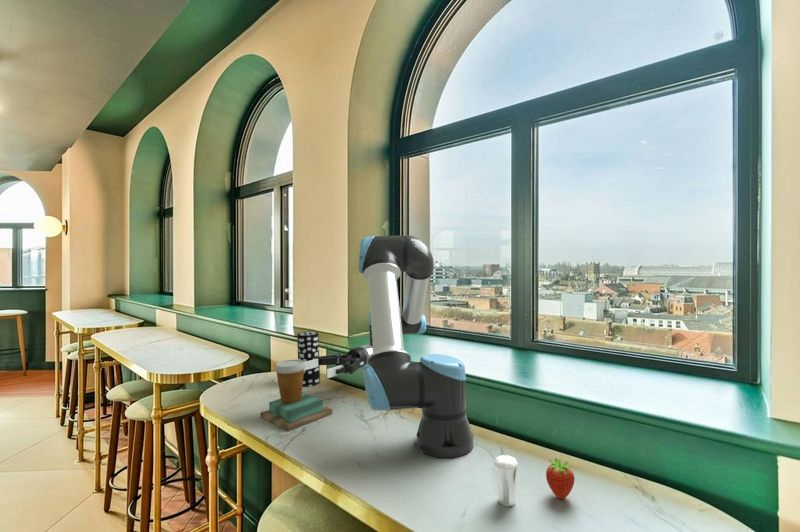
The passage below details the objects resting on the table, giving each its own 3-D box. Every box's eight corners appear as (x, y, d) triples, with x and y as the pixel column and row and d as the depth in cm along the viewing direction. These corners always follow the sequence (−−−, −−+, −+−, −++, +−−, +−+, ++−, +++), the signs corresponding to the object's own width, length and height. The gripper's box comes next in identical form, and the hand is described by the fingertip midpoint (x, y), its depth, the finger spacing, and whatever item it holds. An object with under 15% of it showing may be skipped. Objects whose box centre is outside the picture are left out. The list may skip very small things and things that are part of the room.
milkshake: (513, 492, 86) (512, 445, 85) (521, 508, 80) (520, 458, 80) (491, 493, 85) (490, 446, 85) (498, 509, 80) (497, 459, 80)
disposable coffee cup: (311, 399, 130) (310, 362, 130) (283, 407, 124) (282, 369, 124) (298, 392, 137) (296, 357, 137) (270, 399, 131) (269, 363, 131)
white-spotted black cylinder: (298, 381, 165) (296, 332, 164) (319, 379, 167) (317, 330, 167) (299, 387, 157) (297, 336, 156) (321, 385, 159) (319, 334, 159)
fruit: (548, 503, 81) (548, 464, 81) (544, 489, 86) (543, 452, 86) (577, 506, 80) (576, 466, 80) (571, 491, 85) (570, 453, 85)
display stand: (332, 414, 130) (331, 399, 130) (288, 431, 118) (288, 415, 118) (303, 402, 141) (302, 389, 141) (260, 417, 129) (260, 402, 129)
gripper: (385, 372, 142) (338, 389, 127) (339, 361, 159) (293, 374, 143) (385, 351, 142) (337, 365, 126) (339, 342, 159) (292, 353, 143)
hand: (314, 370), depth 135 cm, fingers open, 13 cm apart
